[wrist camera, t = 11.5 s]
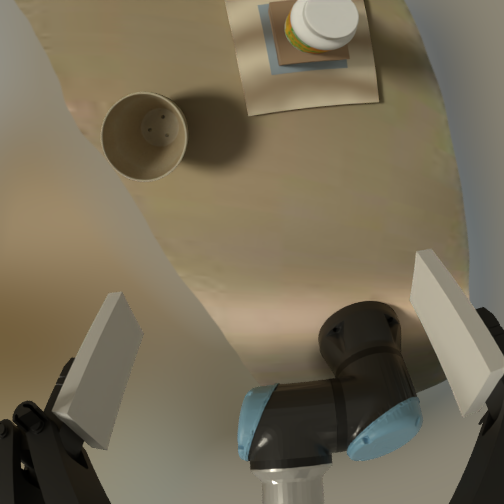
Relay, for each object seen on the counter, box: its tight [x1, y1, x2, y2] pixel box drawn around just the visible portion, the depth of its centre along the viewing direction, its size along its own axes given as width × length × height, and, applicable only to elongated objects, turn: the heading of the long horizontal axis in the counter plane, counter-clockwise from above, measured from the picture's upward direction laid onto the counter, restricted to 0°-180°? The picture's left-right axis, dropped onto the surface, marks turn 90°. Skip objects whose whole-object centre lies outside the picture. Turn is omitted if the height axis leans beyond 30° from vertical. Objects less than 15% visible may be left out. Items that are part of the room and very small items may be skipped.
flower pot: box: [101, 92, 189, 182], centre depth 34 cm, size 10×10×7 cm
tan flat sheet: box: [225, 0, 379, 116], centre depth 30 cm, size 18×16×1 cm
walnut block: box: [268, 0, 350, 66], centre depth 27 cm, size 7×7×5 cm
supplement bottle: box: [284, 0, 359, 54], centre depth 21 cm, size 5×5×10 cm
